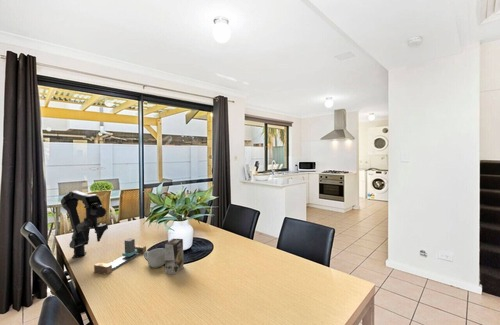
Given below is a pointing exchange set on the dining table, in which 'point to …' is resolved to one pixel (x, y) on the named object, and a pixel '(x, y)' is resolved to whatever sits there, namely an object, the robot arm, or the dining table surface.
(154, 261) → the teacup
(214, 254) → the dining table surface
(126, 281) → the dining table surface
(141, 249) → the rail
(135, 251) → the grey teal block
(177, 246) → the coffee box
